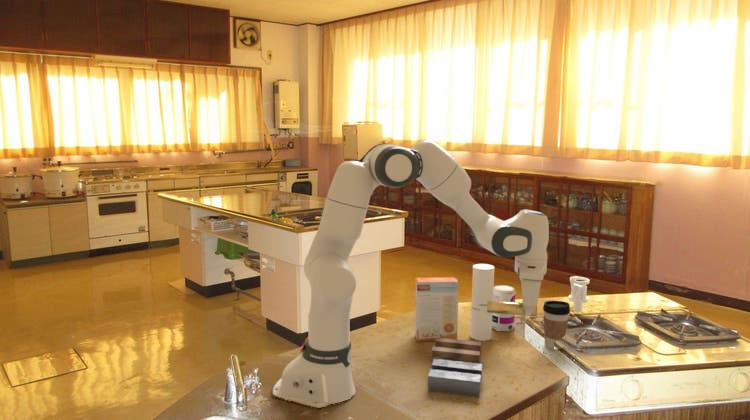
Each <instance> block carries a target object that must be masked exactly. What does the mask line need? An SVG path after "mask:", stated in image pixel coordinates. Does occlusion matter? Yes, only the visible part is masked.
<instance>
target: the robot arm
mask: <svg viewBox="0 0 750 420" xmlns="http://www.w3.org/2000/svg"><path fill="white" fill-rule="evenodd" d="M337 167H338V168H337V169H336V171H335V173H334V176H333V177H332V179H331V183H330V185H329V188H328V191H327V196H326V199H325V203H324V208H323V209H322V210H323V211H322V214H321V218H320V223H319V225H318V228H317V231H316V233H315V235H314V238H313V240H312V242H311V246H310V248H309V250H308V253H307V255H306V256H305V259H304V264H303V270H304V275H305V277H306V279H307V280H308V282H309V286H310V291H311V297H310V306H309V312H308V315H307V316H308V317H307V319H308V320H307V322H308V323H307V324H308V326H307V327H308V328H307V329H308V336H307V337H306V338H305V340H304V342H303V343H302V345H301V347H300V348H299V350H300V351H299V353H302V354H300V355H298V356H297V357H295V358H294V359H292V360H291V361H290V362H288V364H287V365H286V366H285V368H284V369H283V372H282V374H281V378H279V380H277V382H275V384H274V386H273V388H272V396H273V395H276V396H279V397H283V398H287V399H291V400H295V401H299V402H303V403H307V404H310V405H313V406H317V407H323V406H326V405H328V404H331V403H337V402H342V401H345V400H347V401H349V400H351V399H352V398H353V397H354V396H355V394H356V392H357V391H356V386H355V383H354V380H353V374H352V367H351V363H352V358H353V356H352V355H353V354H352V353H353V352H352V342H351V340H350V338H351V335H350V332H351V331H350V323H351V322H350V318H351V317H350V316H351V309H352V303H353V298H354V297H353V296H354V293H355V291H356V288H357V287H356V286H357V281H356V275H355V271H354V270H353V268H352V267H351V265H350V264H349V263H348V261H349V257H350V255H351V253H352V250H353V248H354V246H355V245H356V242H357V241H358V240H360V238H361V235H362V231H363V227H364V223H365V219H366V215H367V212H368V208H369V204H370V199H371V196H372V194H373V193H374V191H375V189H376V188H377V187H379V186H383V187H387V188H391V189H398V188H402V187H404V186H407V185H409V184H410V183H412V182H413V181H415V180H417V181H418V182H419V183H420V184H421V185H422V186H423V187H424V188H425V189H426V190H427V191H428V192H429V194H431V195H432V196H433V197H434V198H436V199H437V201H439V202H441V203H443V204H444V205H446V206H448V207H450V208H451V209H452V210H453V211H455V213H456V214H457V215H458V216H459V217H460V218H461V219H462V220H463V222H465V224H467V226H468V228H469V229H470V231H471V234H472V238H473V241H475V243H476V244H477V245H478V246H479V247H481V248H482V249H485V250H487V251H489V252H491V253H492V254H495V255H496V256H497V257H500V258H514V270H513V271H514V272H515V273H517V275H518V278H519V280H520V285H521V298H522V303H523V306H524V307H525V315H526V317H532V316H531V314H532V307H536V306H537V307H538V302H539V297H540V292H541V291H540V290H541V283H542V281H544V276H545V275H546V274H547V270H548V269H547V265H548V252H547V248H548V244H549V234H550V227H549V226H550V225H549V219H548V216H547V215H546V214H545V213H543V212H540V211H537V210H532V209H525V208H524V209H520V211H519V212H518V213H517V214H515V215H514V216H512V217H510V218H508V219H506V220H503V219H500V218H499V217H497V216H496V215H495V216H494V215H492V214H489V213H487V212H486V211H485V209H483V207H482V206H480V204H479V203H478V202H477V201H476V200H475V199H474V198H473V197H472V195H471V194H470V191H471V188H472V179H471V178H470V175H468V172H467V171H466V170H465V169H464V167H463V166H462V165H461V164H460V162H458V161H457V160H456V158H454V156H452V155H451V154H450V153H449V152H448V151H447V150H446V149H444V148H443V147H442V146H441V145H439V144H437V143H436V142H434V141H433V140H431V139H423V140H420V141H418V142H417V143H415V144H414V145H413V146H411V148H409V147H406V146H405V147H404V146H401V145H397V144H396V143H395V144H394V143H379V144H376V145H374V146H372V147H371V148H370V149H369V150H368V151H367V152H366V154H364V155H363V156H362V157H361V158H360V159H359V161H357V160H346V161H344V162H342V163H340V164H339V166H337ZM353 395H354V396H353ZM289 396H290V397H289ZM352 396H353V397H352ZM351 397H352V398H351ZM348 399H349V400H348ZM345 402H346V401H345ZM314 403H316V404H314ZM342 403H343V402H342Z"/></svg>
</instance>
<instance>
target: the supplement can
mask: <svg viewBox="0 0 750 420" xmlns="http://www.w3.org/2000/svg"><path fill="white" fill-rule="evenodd" d="M516 295H517V292H516V290H515V288H514V287H513V286H510V285H502V284H498V285H497V284H496V285H494V290H493V301H504V302H516V298H517V297H516ZM515 317H516V315H511V314H498V313H492V329H493V330H494V329H495V330H494V331H496V330H498V331H497V332H500V331H509V332H511V331H513V329H514V328H515ZM510 330H511V331H510Z"/></svg>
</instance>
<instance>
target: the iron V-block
mask: <svg viewBox="0 0 750 420" xmlns="http://www.w3.org/2000/svg"><path fill="white" fill-rule="evenodd" d="M482 379H483V363H480V364H478V363H469V362H460V361H451V360H442V359H434V360H433V363H432V369H431V368H430V370H429V373H428V376H427V392H431V393H440V394H447V395H455V396H461V397H469V398H470V397H471V398H480V397H481V388H482V381H483V380H482Z"/></svg>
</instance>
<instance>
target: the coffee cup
mask: <svg viewBox="0 0 750 420" xmlns="http://www.w3.org/2000/svg"><path fill="white" fill-rule="evenodd" d="M570 308H571V305H570V303H569V302H567V301H562V300H560V301H559V300H547V301H545V302H544V303H543V307H542V310H543V328H544V329H543V330H544V331H543V333H544V346H545V348H547V349H549V350H553V351H555V350H554V342H556V341H559V340H561V339H562V337H564V336H565V335H567V329H568V324H569V315H570V314H571V309H570ZM565 337H566V336H565Z"/></svg>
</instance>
